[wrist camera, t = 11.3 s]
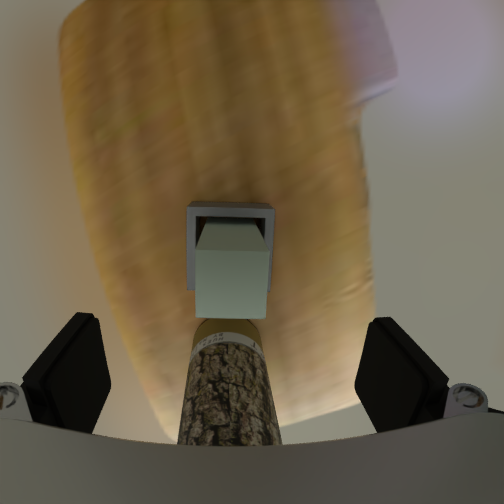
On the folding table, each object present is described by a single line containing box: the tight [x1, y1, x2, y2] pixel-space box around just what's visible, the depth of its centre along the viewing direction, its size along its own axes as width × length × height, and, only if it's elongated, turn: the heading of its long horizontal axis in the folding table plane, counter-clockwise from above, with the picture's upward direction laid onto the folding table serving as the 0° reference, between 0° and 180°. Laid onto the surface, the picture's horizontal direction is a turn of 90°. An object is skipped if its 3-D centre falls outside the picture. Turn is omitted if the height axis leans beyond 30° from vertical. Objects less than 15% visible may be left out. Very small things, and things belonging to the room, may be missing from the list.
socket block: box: [187, 202, 275, 292], centre depth 28 cm, size 7×7×4 cm
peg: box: [195, 217, 270, 319], centre depth 24 cm, size 4×4×12 cm
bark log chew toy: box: [177, 318, 283, 446], centre depth 20 cm, size 7×7×25 cm
